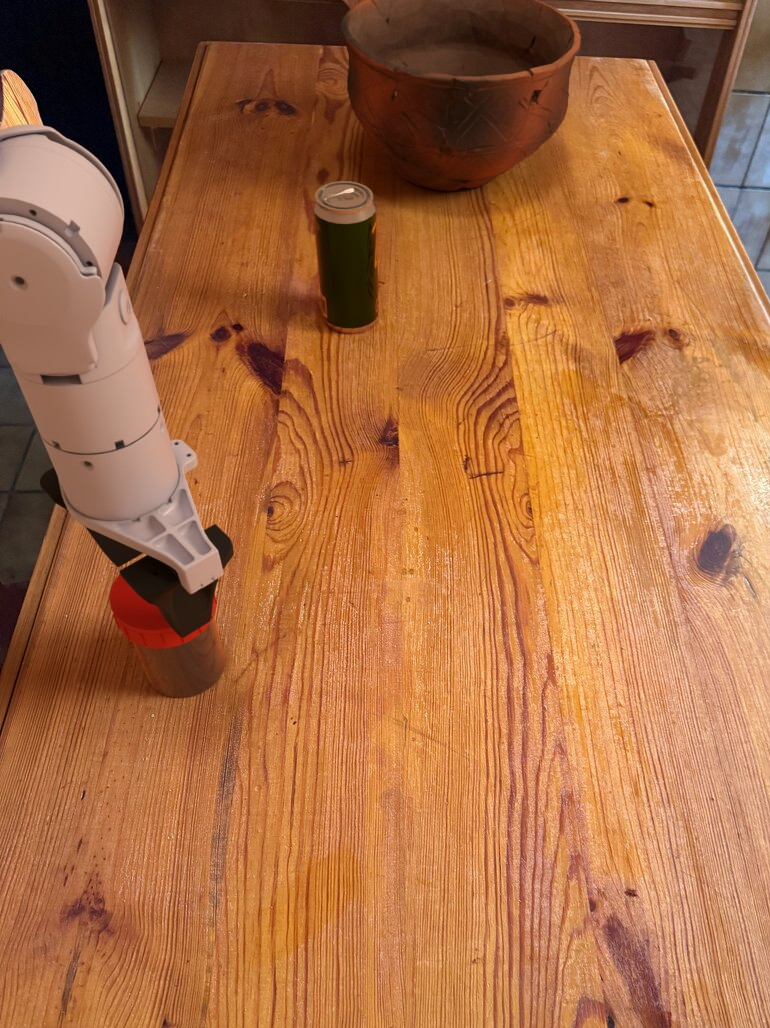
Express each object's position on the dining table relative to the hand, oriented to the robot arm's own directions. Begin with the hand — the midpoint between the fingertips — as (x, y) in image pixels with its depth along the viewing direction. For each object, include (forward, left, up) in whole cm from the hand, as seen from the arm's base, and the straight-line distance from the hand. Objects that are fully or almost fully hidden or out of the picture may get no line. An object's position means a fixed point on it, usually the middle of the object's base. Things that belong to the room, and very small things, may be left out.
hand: (160, 590), depth 53 cm
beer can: (+7, +40, -8) cm, 41 cm away
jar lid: (0, 0, 0) cm, 0 cm away
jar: (0, 0, -8) cm, 8 cm away
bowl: (+16, +70, -8) cm, 72 cm away
